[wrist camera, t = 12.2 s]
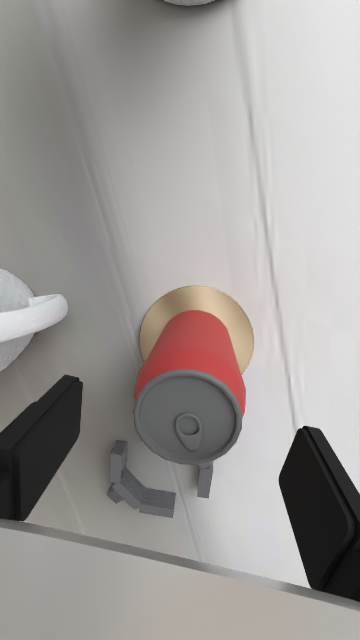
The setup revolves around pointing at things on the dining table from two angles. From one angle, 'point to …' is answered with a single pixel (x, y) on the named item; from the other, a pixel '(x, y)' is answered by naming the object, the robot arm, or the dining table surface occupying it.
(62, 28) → the dining table surface
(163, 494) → the collar
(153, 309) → the disc
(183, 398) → the beer can
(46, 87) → the dining table surface
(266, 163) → the dining table surface
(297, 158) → the dining table surface
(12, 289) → the mug
